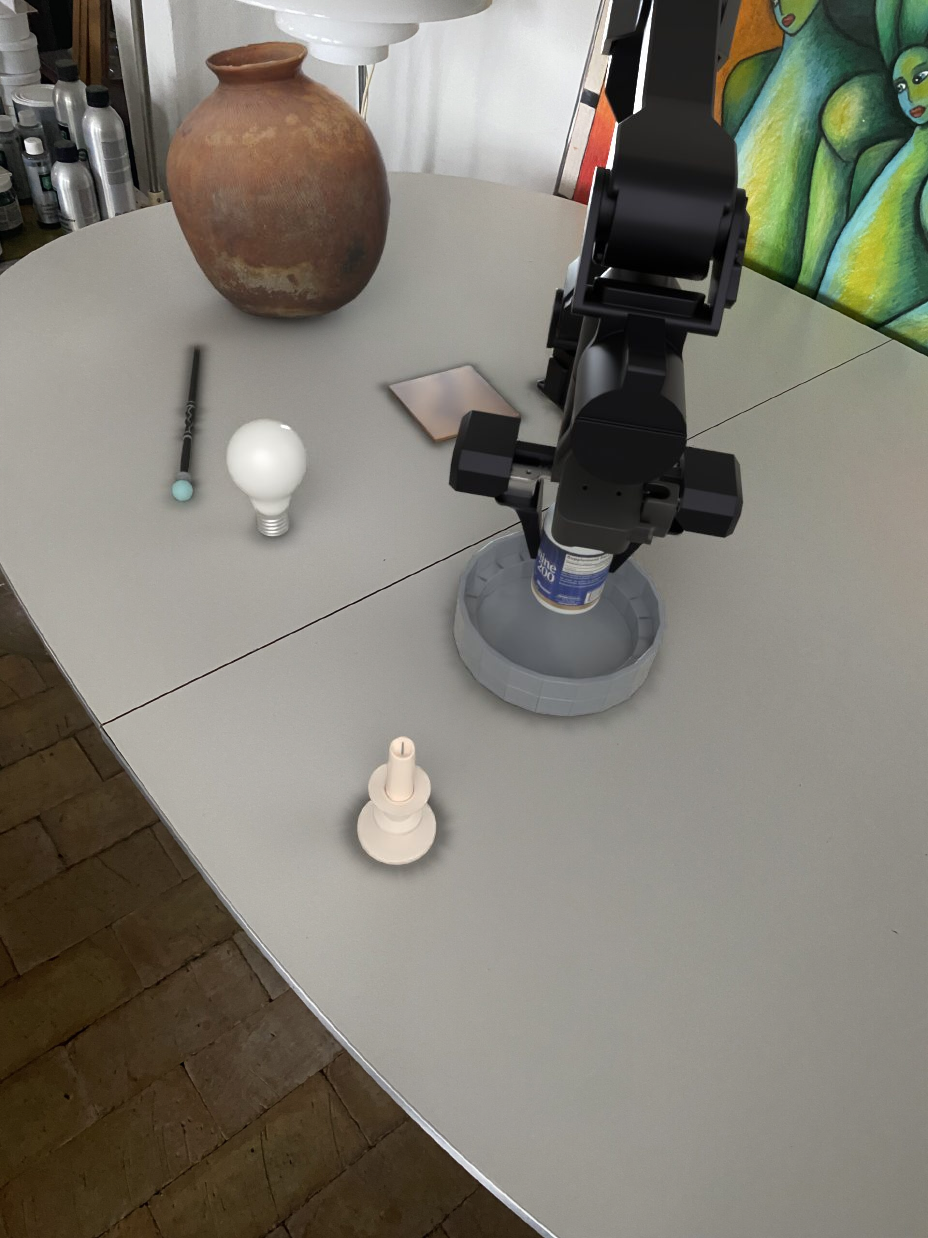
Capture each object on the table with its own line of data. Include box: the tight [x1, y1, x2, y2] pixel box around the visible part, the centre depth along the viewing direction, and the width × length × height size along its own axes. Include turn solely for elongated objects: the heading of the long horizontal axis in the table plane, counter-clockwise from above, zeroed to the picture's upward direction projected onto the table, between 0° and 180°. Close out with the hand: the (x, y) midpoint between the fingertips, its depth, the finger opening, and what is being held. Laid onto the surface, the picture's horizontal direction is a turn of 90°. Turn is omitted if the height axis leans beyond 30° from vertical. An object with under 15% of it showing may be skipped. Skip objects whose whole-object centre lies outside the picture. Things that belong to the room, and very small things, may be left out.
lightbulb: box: [225, 417, 308, 537], centre depth 71 cm, size 6×6×11 cm
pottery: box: [165, 40, 392, 319], centre depth 92 cm, size 23×23×25 cm
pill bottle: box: [531, 500, 614, 614], centre depth 62 cm, size 5×5×10 cm
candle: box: [356, 736, 437, 866], centre depth 54 cm, size 5×5×10 cm
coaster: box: [388, 364, 521, 444], centre depth 90 cm, size 10×10×1 cm
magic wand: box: [171, 345, 200, 502], centre depth 84 cm, size 2×25×2 cm
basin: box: [452, 528, 667, 718], centre depth 69 cm, size 16×16×4 cm
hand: (571, 562), depth 64 cm, fingers closed on pill bottle, 5 cm apart
